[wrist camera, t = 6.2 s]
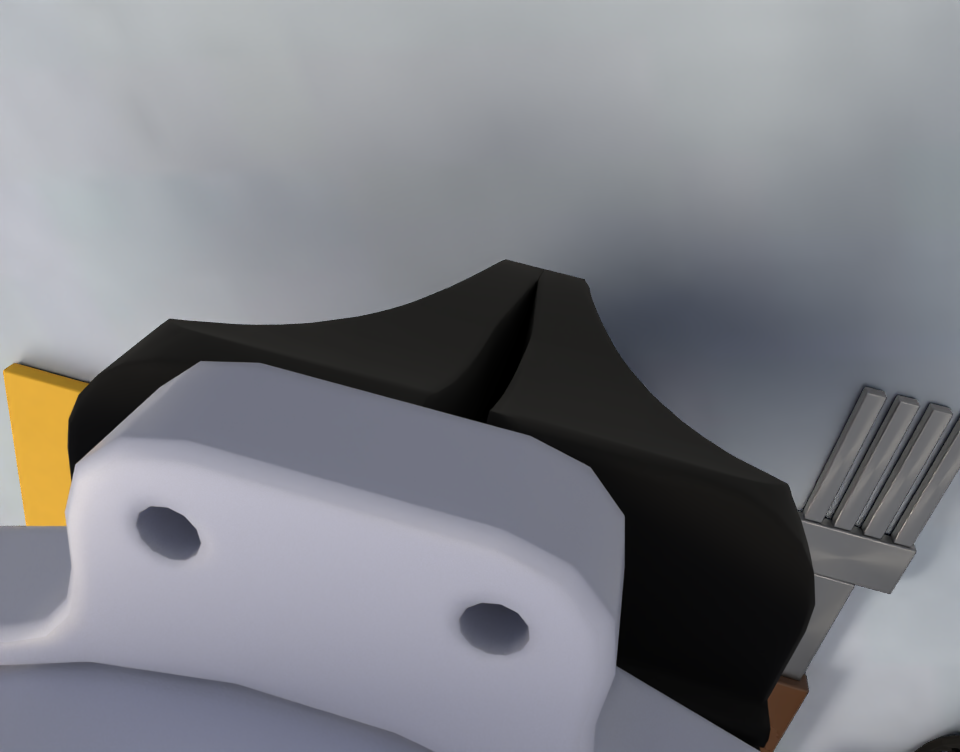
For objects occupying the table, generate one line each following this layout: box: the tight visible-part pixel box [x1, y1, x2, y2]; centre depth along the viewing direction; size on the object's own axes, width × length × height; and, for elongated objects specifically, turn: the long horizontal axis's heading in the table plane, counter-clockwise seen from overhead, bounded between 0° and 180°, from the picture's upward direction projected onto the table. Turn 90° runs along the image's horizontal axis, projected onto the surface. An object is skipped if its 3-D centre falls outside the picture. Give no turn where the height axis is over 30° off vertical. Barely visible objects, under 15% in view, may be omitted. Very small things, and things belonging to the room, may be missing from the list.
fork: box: [760, 387, 960, 752], centre depth 19 cm, size 16×2×1 cm, turn 170°
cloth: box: [3, 363, 89, 526], centre depth 21 cm, size 10×6×1 cm, turn 170°
